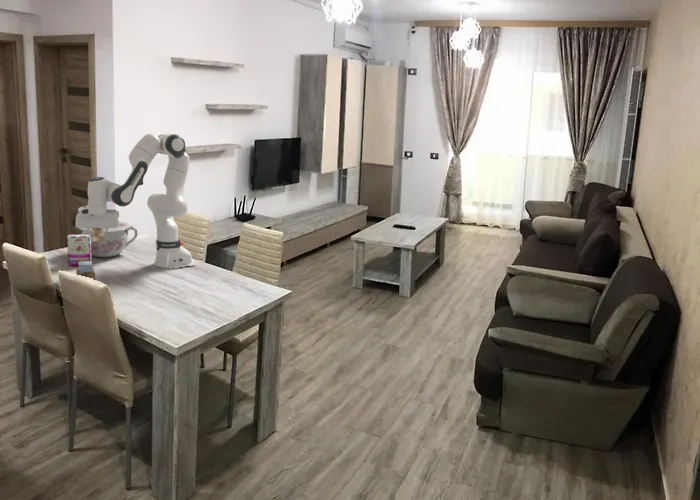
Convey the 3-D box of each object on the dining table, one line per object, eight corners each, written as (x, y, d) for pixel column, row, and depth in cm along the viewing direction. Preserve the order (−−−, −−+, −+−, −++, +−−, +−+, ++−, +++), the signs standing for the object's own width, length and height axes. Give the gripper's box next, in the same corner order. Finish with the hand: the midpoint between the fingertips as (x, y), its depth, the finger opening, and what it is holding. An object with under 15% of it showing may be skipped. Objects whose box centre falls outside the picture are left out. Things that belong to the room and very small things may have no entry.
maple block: (102, 238, 313) (102, 227, 312) (103, 241, 309) (103, 229, 308) (91, 239, 311) (91, 227, 310) (92, 241, 307) (92, 229, 306)
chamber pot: (67, 256, 339) (66, 220, 334) (101, 245, 365) (100, 211, 359) (110, 264, 332) (109, 227, 327) (141, 252, 357) (140, 218, 352)
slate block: (91, 268, 311) (91, 261, 310) (92, 272, 306) (92, 264, 305) (78, 269, 308) (78, 261, 307) (79, 272, 303) (79, 265, 302)
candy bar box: (92, 263, 331) (91, 234, 326) (90, 266, 326) (89, 236, 322) (69, 263, 328) (68, 234, 323) (68, 266, 323) (66, 236, 319)
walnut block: (93, 275, 314) (93, 267, 313) (95, 280, 307) (94, 272, 306) (76, 276, 310) (76, 268, 309) (77, 281, 303) (77, 273, 302)
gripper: (118, 208, 314) (118, 234, 317) (75, 208, 305) (75, 235, 308) (119, 210, 308) (119, 237, 312) (75, 210, 299) (76, 238, 302)
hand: (97, 236), depth 310 cm, fingers closed on maple block, 5 cm apart
